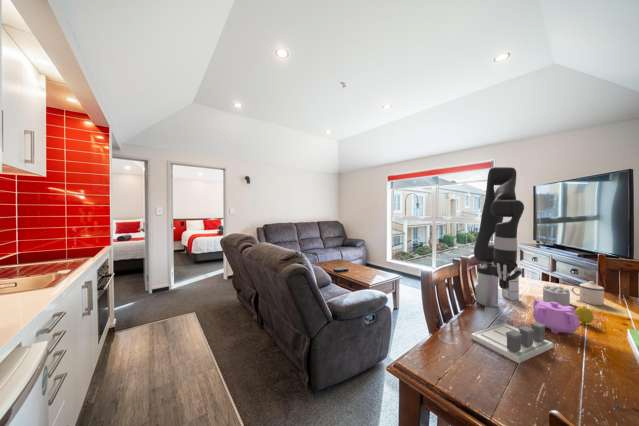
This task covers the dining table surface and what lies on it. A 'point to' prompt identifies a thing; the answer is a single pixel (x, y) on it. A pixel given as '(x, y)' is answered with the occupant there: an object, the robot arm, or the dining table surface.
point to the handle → (538, 331)
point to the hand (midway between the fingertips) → (503, 288)
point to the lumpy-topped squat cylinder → (556, 295)
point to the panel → (498, 342)
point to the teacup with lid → (591, 293)
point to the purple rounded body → (556, 316)
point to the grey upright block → (513, 341)
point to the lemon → (584, 315)
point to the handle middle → (526, 336)
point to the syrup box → (512, 290)
